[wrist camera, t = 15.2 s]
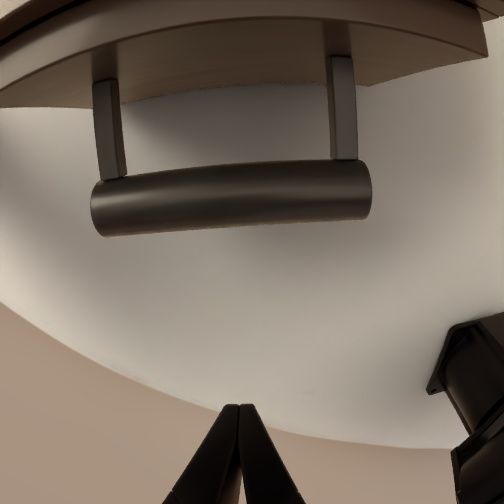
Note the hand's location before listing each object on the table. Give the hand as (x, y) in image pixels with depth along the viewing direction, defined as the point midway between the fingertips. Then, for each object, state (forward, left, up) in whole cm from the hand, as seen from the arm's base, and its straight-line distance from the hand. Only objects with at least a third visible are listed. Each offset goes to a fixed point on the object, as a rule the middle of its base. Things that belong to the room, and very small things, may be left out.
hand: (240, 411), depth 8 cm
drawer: (+14, 0, -6) cm, 15 cm away
